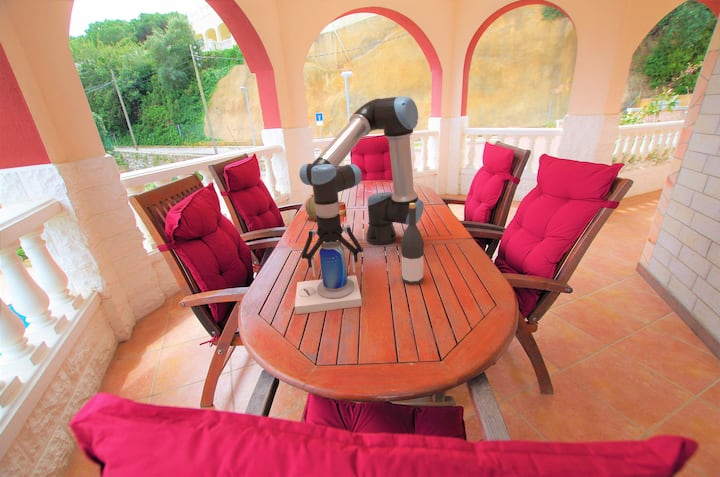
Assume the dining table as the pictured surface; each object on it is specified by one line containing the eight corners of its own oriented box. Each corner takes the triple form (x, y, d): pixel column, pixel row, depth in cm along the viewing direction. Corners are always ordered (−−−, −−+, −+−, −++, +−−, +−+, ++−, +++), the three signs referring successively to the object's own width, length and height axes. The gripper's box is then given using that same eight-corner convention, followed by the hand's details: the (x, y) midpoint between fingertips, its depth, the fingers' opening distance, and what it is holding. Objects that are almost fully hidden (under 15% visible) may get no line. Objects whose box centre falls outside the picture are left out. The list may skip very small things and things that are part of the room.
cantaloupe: (329, 222, 187) (327, 197, 181) (305, 223, 187) (301, 198, 181) (332, 214, 200) (329, 191, 195) (309, 215, 201) (306, 192, 195)
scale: (356, 282, 121) (355, 272, 119) (361, 306, 106) (361, 295, 104) (298, 289, 119) (296, 279, 117) (295, 314, 104) (293, 303, 102)
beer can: (351, 281, 113) (347, 240, 107) (342, 293, 106) (337, 250, 100) (329, 278, 116) (324, 238, 110) (319, 290, 109) (314, 248, 102)
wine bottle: (409, 287, 115) (409, 208, 103) (397, 278, 121) (395, 203, 110) (427, 281, 118) (429, 204, 106) (414, 272, 125) (414, 198, 113)
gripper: (365, 207, 105) (368, 263, 113) (289, 214, 103) (298, 271, 111) (368, 214, 98) (371, 273, 107) (287, 222, 96) (297, 282, 104)
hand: (334, 272), depth 109 cm, fingers open, 13 cm apart
